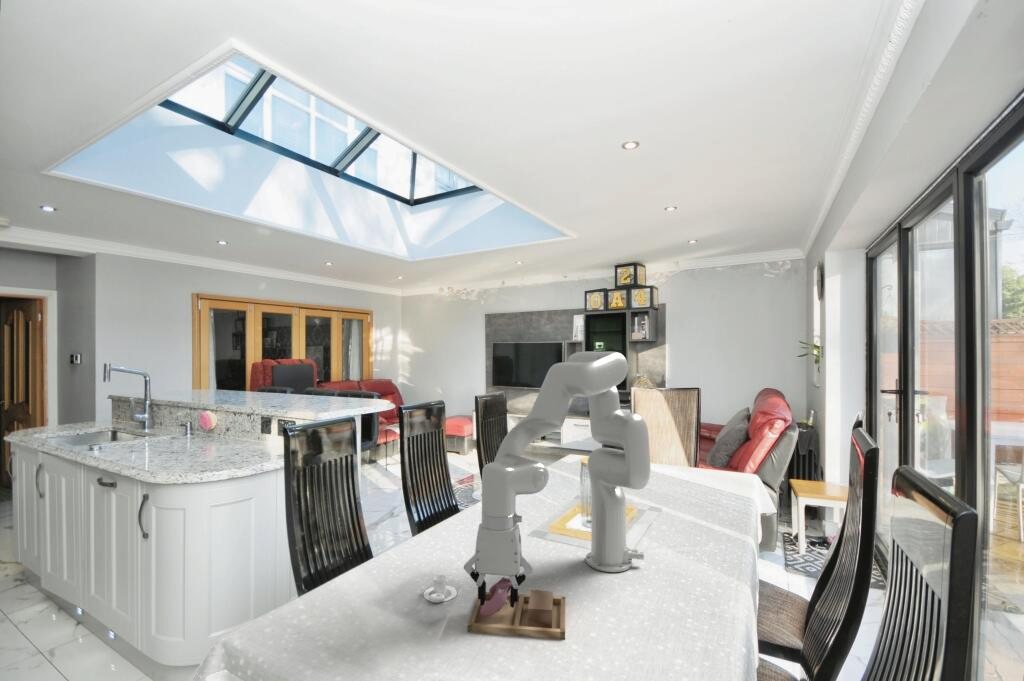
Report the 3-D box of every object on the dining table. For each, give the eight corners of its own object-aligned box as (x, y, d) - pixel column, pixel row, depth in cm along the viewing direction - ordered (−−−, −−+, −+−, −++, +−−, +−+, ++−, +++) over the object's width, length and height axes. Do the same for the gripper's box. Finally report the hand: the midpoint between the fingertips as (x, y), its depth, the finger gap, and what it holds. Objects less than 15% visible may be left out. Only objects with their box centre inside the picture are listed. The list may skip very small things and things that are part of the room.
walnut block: (552, 609, 105) (553, 591, 105) (551, 629, 97) (551, 610, 98) (530, 607, 106) (530, 589, 106) (527, 627, 98) (528, 608, 98)
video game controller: (496, 626, 98) (511, 597, 97) (477, 614, 98) (492, 585, 98) (505, 602, 107) (519, 576, 107) (488, 591, 108) (501, 565, 108)
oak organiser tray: (565, 604, 108) (565, 596, 108) (565, 641, 94) (565, 632, 94) (479, 599, 110) (480, 591, 110) (467, 633, 96) (467, 625, 96)
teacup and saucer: (439, 609, 107) (439, 590, 107) (414, 599, 111) (414, 581, 111) (463, 592, 114) (463, 575, 114) (438, 584, 118) (438, 568, 118)
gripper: (538, 516, 106) (538, 597, 106) (464, 513, 108) (463, 592, 108) (536, 528, 99) (535, 615, 98) (456, 524, 101) (455, 609, 100)
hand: (497, 602), depth 103 cm, fingers closed on video game controller, 6 cm apart
